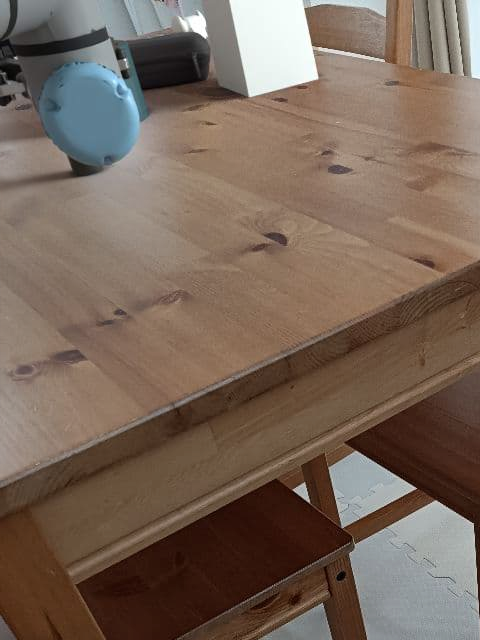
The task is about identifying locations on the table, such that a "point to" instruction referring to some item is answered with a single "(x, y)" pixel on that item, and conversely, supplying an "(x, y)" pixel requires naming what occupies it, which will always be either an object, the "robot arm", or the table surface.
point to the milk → (259, 44)
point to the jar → (134, 82)
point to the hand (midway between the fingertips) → (43, 53)
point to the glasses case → (170, 59)
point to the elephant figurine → (189, 24)
